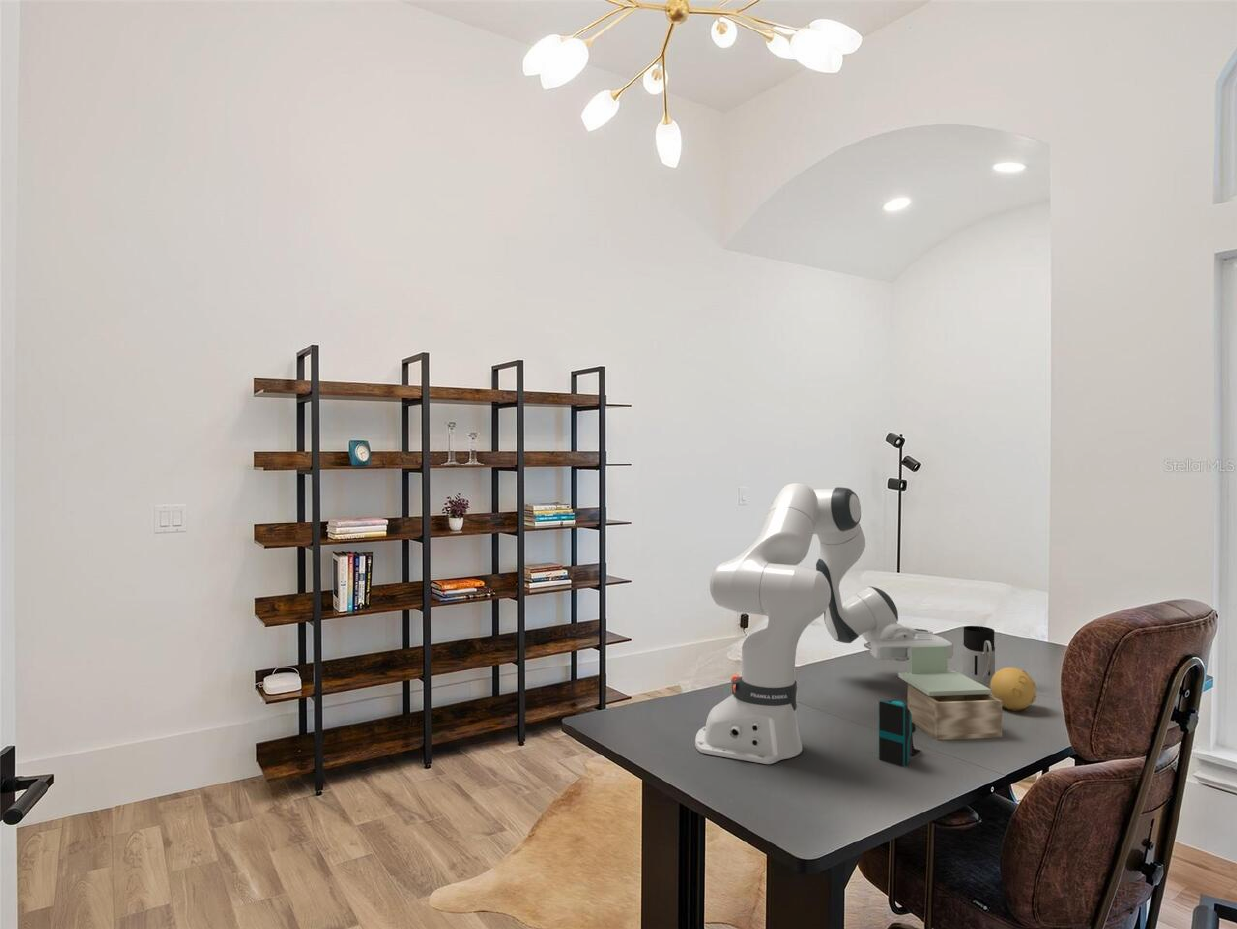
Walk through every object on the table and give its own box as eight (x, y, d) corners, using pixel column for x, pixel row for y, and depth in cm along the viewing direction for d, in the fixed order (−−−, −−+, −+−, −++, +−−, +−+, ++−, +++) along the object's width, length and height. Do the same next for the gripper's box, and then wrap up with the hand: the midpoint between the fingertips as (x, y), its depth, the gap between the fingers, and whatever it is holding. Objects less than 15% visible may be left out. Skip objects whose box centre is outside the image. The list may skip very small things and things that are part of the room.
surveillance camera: (925, 695, 152) (904, 707, 145) (925, 752, 153) (904, 767, 146) (899, 689, 156) (877, 700, 149) (898, 745, 157) (877, 759, 150)
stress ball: (985, 710, 180) (1000, 694, 173) (983, 673, 186) (997, 656, 179) (1028, 719, 179) (1045, 704, 171) (1025, 681, 185) (1041, 665, 177)
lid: (928, 696, 163) (929, 663, 163) (898, 676, 177) (898, 646, 177) (990, 694, 165) (991, 661, 164) (955, 674, 179) (955, 644, 179)
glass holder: (990, 680, 201) (991, 626, 201) (1008, 697, 187) (1009, 639, 187) (956, 678, 203) (957, 624, 202) (972, 695, 189) (972, 637, 188)
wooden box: (936, 739, 159) (937, 703, 159) (907, 718, 172) (907, 684, 172) (1001, 737, 161) (1002, 701, 161) (967, 716, 174) (968, 682, 174)
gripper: (860, 631, 191) (885, 645, 177) (935, 630, 193) (965, 643, 179) (860, 655, 191) (885, 671, 177) (935, 654, 193) (965, 669, 179)
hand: (926, 657), depth 178 cm, fingers closed, pressing on lid
